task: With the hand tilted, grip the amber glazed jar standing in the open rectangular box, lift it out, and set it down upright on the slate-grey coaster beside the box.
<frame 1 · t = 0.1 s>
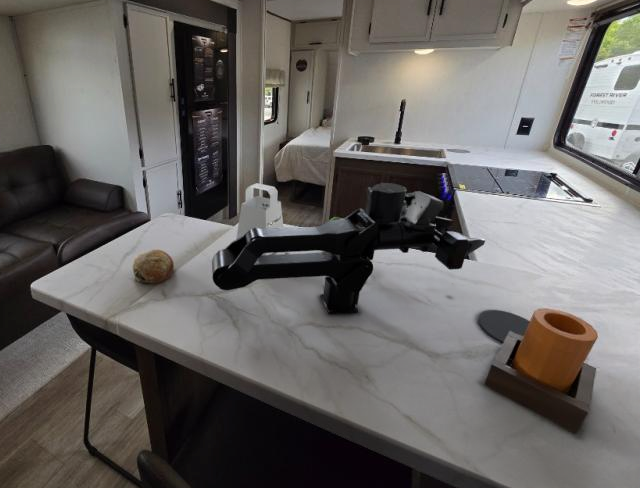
hand: (467, 231, 70), 17 cm above the counter, tool horizontal, fingers open, 9 cm apart
bread roll: (154, 273, 87), on the counter
open rectangular box: (533, 386, 55), on the counter
coaster: (510, 330, 67), on the counter
grater: (260, 256, 94), on the counter
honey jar: (548, 356, 52), in the open rectangular box
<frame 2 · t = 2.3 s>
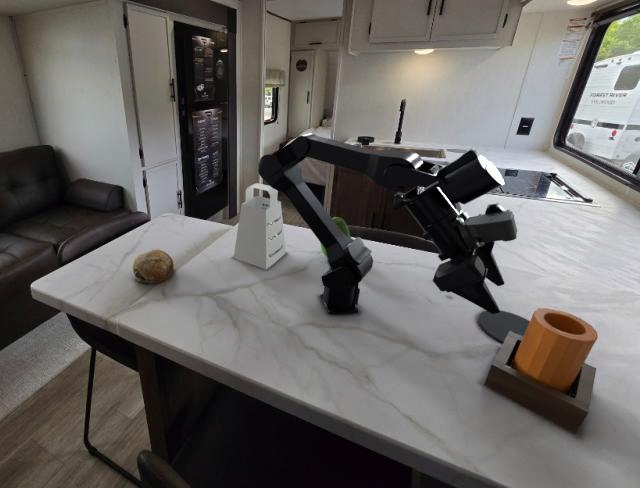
hand: (499, 298, 54), 14 cm above the counter, tool tilted 45°, fingers open, 9 cm apart
nothing on the counter moved.
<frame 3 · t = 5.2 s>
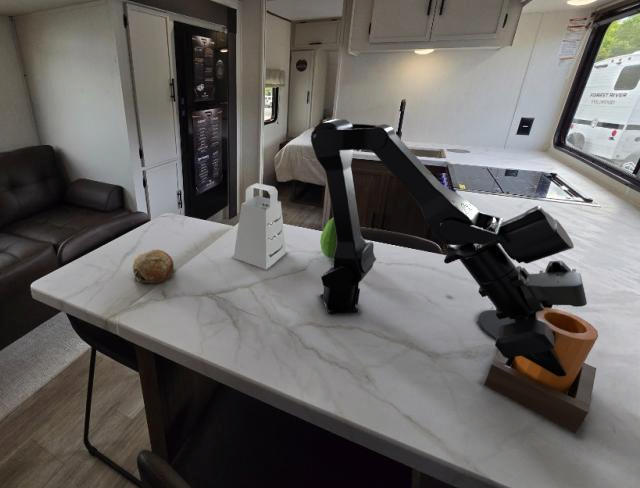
hand: (561, 360, 51), 7 cm above the counter, tool tilted 45°, fingers closed on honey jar, 7 cm apart
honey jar: (548, 356, 52), in the open rectangular box, touching gripper
everything else where it was.
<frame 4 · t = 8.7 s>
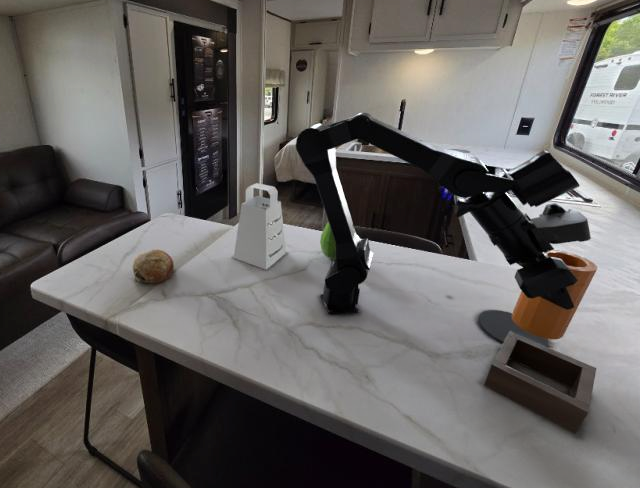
hand: (562, 295, 55), 13 cm above the counter, tool tilted 45°, fingers closed on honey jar, 7 cm apart
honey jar: (550, 293, 56), point 13 cm above the counter, touching gripper
everything else where it was.
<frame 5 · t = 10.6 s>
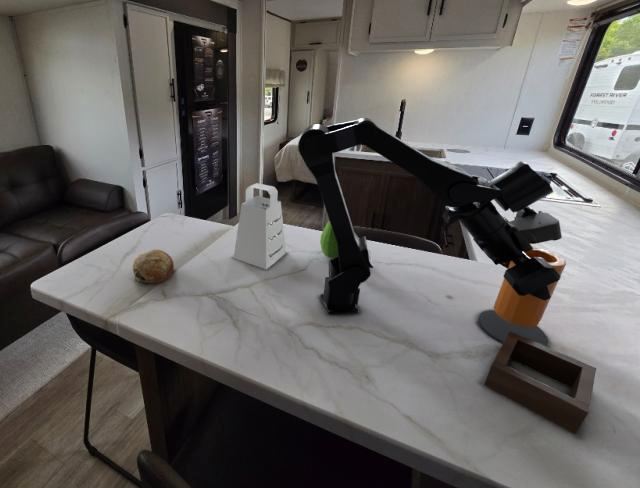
hand: (536, 287, 62), 10 cm above the counter, tool tilted 45°, fingers closed on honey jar, 7 cm apart
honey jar: (527, 286, 63), point 10 cm above the counter, touching gripper
everything else where it was.
when the fingers open (7 cm above the counter, at t = 12.1 s): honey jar stays where it is, resting on coaster.
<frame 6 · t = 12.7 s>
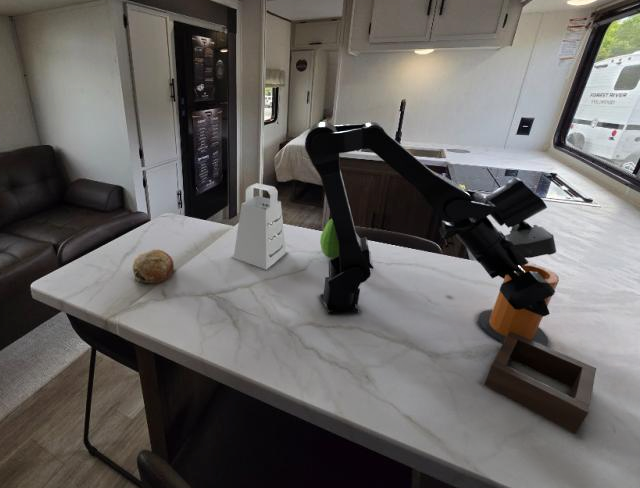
hand: (532, 299, 64), 8 cm above the counter, tool tilted 45°, fingers open, 9 cm apart
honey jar: (521, 301, 64), on the coaster
everything else where it was.
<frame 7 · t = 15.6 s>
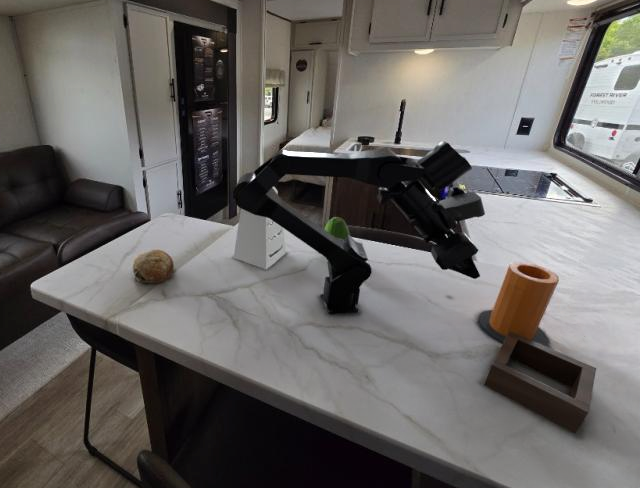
hand: (468, 264, 65), 13 cm above the counter, tool tilted 45°, fingers open, 9 cm apart
nothing on the counter moved.
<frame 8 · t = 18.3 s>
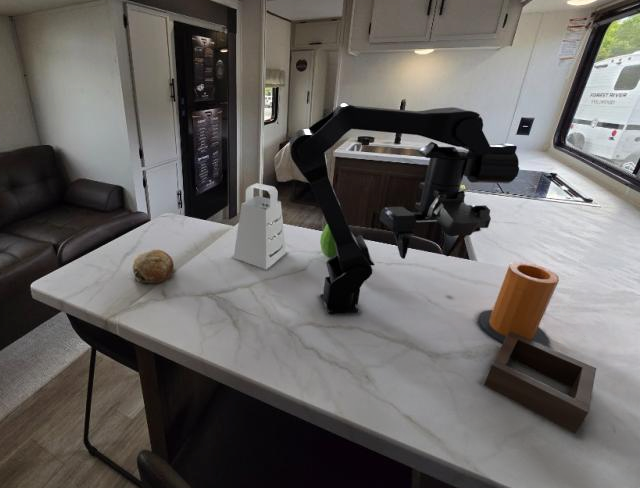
hand: (424, 256, 68), 13 cm above the counter, tool pointing down, fingers open, 9 cm apart
nothing on the counter moved.
at the end: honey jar 0.3 cm off-centre on the coaster, point 7.0 cm above the coaster's base; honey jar tilted 0°; the gripper is holding nothing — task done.
